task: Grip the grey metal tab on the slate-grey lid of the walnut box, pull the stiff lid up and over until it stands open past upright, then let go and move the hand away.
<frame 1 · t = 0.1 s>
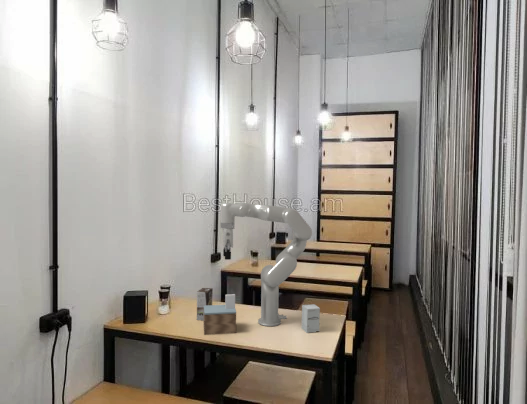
hand: (227, 257, 197), 36 cm above the table, tool pointing down, fingers open, 9 cm apart
coffee box: (204, 318, 208), on the table
walnut box: (219, 329, 191), on the table
lid: (219, 302, 191), point 14 cm above the table, hinge at 0.0°
supplement box: (310, 330, 192), on the table
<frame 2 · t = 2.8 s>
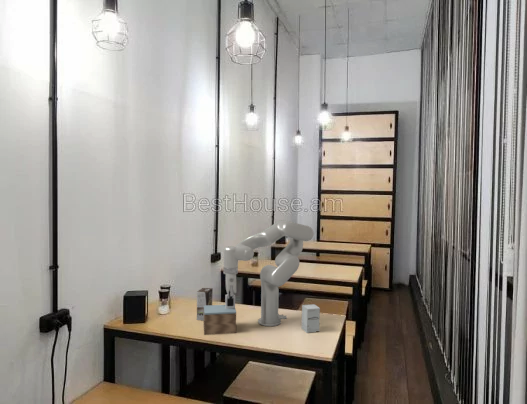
hand: (230, 305, 192), 13 cm above the table, tool pointing down, fingers closed
lid: (219, 302, 191), point 14 cm above the table, hinge at 0.0°, touching gripper
everything else where it was.
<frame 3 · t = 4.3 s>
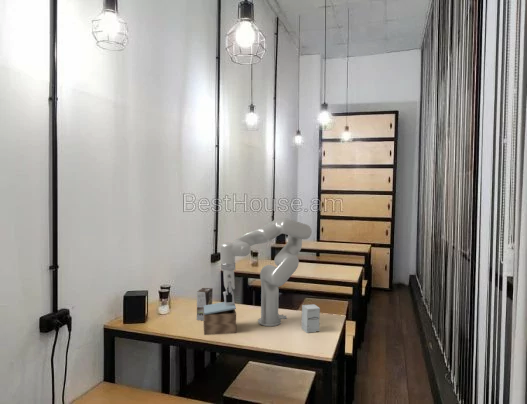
hand: (229, 301, 192), 15 cm above the table, tool pointing down, fingers closed on lid
lid: (218, 300, 191), point 15 cm above the table, hinge at 7.9°, touching gripper
everything else where it was.
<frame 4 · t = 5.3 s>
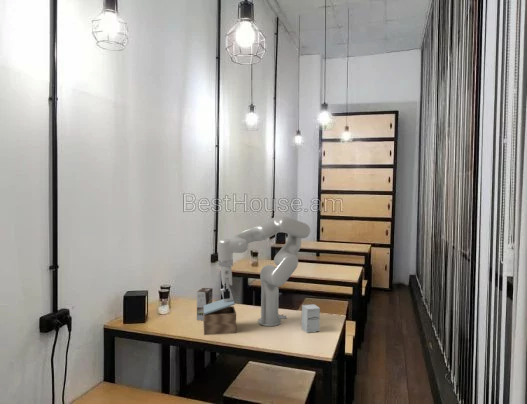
hand: (226, 297, 191), 17 cm above the table, tool pointing down, fingers closed on lid
lid: (217, 298, 190), point 16 cm above the table, hinge at 16.5°, touching gripper
everything else where it was.
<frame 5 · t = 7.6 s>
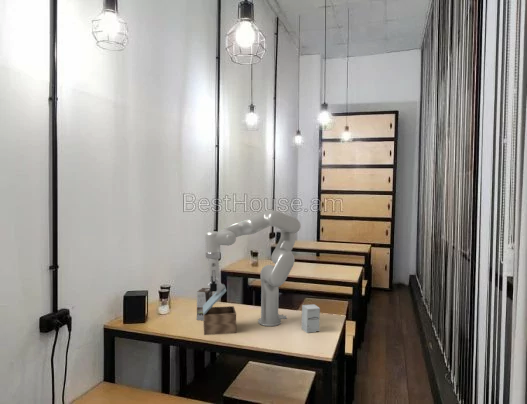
hand: (213, 290, 190), 21 cm above the table, tool pointing down, fingers closed
lid: (209, 294, 190), point 19 cm above the table, hinge at 46.8°, touching gripper
everything else where it was.
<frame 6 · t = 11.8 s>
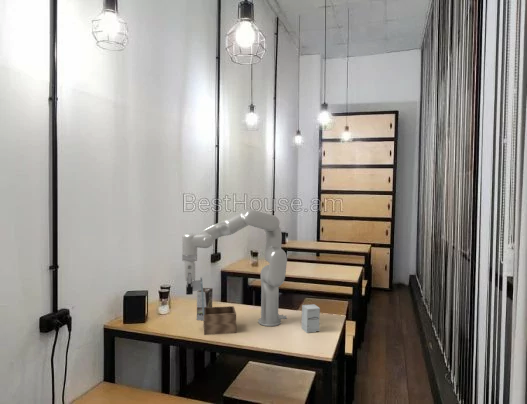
hand: (189, 293, 188), 20 cm above the table, tool pointing down, fingers closed
lid: (195, 296, 188), point 18 cm above the table, hinge at 94.0°
everything else where it was.
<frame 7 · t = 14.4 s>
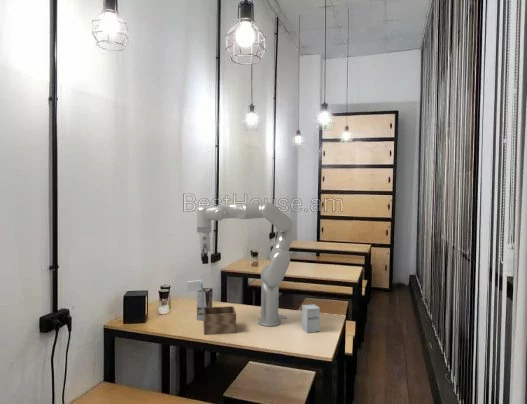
hand: (204, 262, 195), 34 cm above the table, tool pointing down, fingers open, 9 cm apart
nothing on the table moved.
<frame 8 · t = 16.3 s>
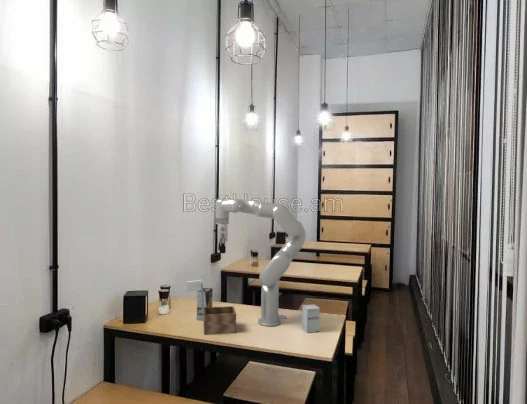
hand: (221, 251, 205), 38 cm above the table, tool pointing down, fingers open, 9 cm apart
nothing on the table moved.
at the end: lid at +94° (first picture: +0°); the gripper is holding nothing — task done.
